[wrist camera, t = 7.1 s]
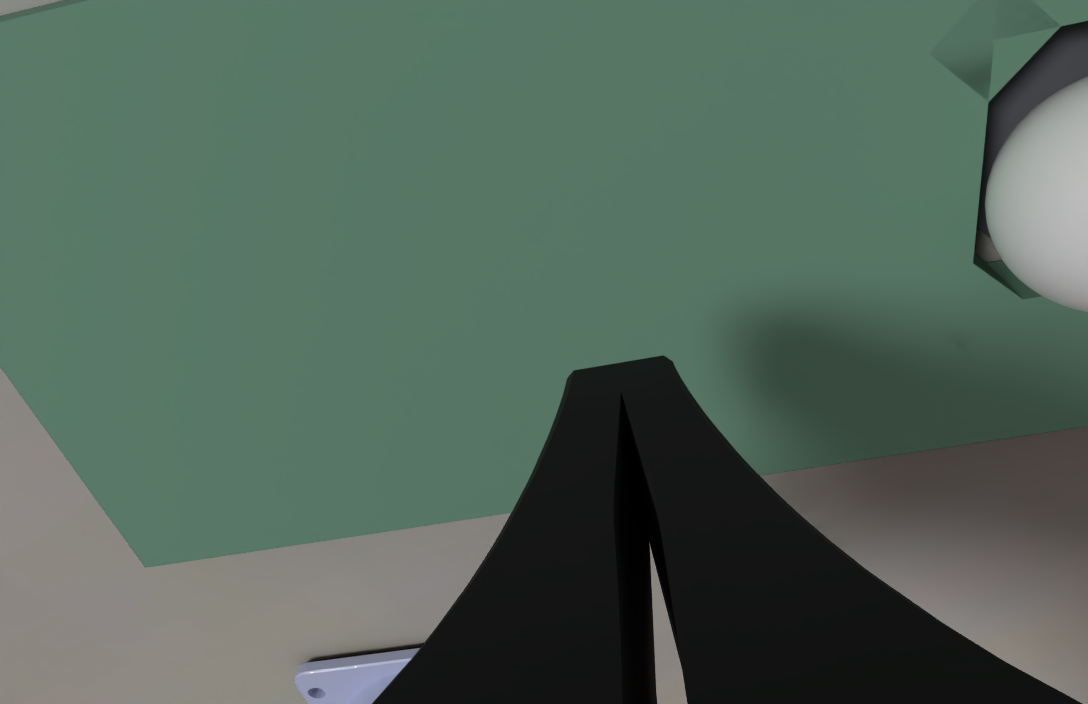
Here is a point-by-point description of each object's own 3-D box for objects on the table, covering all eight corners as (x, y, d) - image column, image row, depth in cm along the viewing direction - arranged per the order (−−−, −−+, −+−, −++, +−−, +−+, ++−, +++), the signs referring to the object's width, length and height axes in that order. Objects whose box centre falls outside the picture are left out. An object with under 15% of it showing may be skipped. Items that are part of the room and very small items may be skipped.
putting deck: (1306, 343, 17) (1366, 384, 16) (169, 522, 21) (145, 567, 19) (1581, -376, 11) (1715, -401, 10) (-145, 52, 14) (-212, 74, 13)
